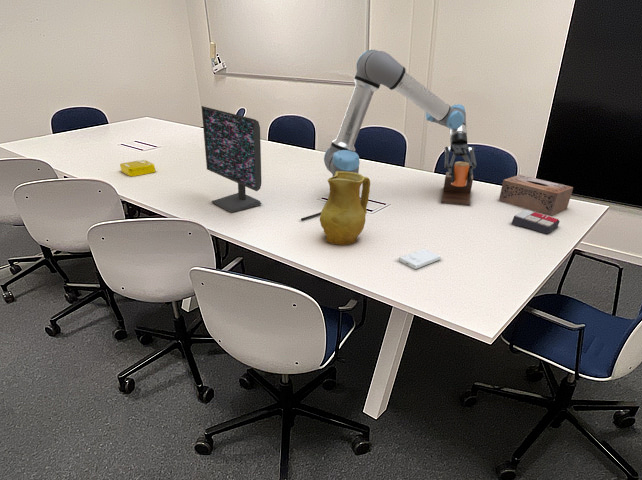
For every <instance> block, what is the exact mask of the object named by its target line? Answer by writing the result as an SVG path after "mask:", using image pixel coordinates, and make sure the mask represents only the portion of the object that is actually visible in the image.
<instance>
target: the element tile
mask: <svg viewBox="0 0 642 480" xmlns="http://www.w3.org/2000/svg"><path fill="white" fill-rule="evenodd" d="M119 167H120V170H121V173H123V174H125V175H127V176H129V177H137V176H143V175H148V174H153V173H155V172H156V167H155V163H152V162H150V161H148V160H146V159H139V160H134V161H129V162H122V163H120V164H119Z"/></svg>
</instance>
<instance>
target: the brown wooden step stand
mask: <svg viewBox="0 0 642 480" xmlns="http://www.w3.org/2000/svg"><path fill="white" fill-rule="evenodd" d="M443 182H444V183H443V188H442V189H443V191H442V196H441V202H440V203H441V204H447V205H455V206H456V205H457V206H467V207H470V206H471V193H472V187H473V182H474V173H473V174H472V176H471V182H470V183H468V177H467V183H466V186H463V187H458V186H453V185H451V175H449V171H446V172H445V177H444V181H443Z"/></svg>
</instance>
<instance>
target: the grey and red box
mask: <svg viewBox="0 0 642 480" xmlns="http://www.w3.org/2000/svg"><path fill="white" fill-rule="evenodd" d="M560 221H561V220H560V219H559V218H556V217H553V216H550V215H547V214H543V213H540V212H536V211H533V210H529V209H523V210H522V211H521V212H519V213H517V214H515V215H514V216H513V218H512V221H511V225H513V226H516V227H524V228H527V229H530V230H533V231H536V232H539V233H542V234H545V235H548V234H550V233H552V232H553V231H554V230H556V229H557V228H558V227H559V225H560Z"/></svg>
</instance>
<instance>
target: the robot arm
mask: <svg viewBox="0 0 642 480" xmlns="http://www.w3.org/2000/svg"><path fill="white" fill-rule="evenodd" d="M355 67H356V68H355V69H356V73H355V76H354V78H353V81H354V83H355V86H354V88H353V92H352V94H351V97H350V99H349V103H348V105H347V106H348V107H347V108H346V111H345V114H344V117H343V119H342V122H341V125H340V128H339V131H338V133H337V136H336V138H335V139H334V140H332V141H331V144H330V146H329V148H328V149H326V151H325V153H324V156H323V163H324V165H325V168H326V170H327V171H328V172H330V174H332V177H334V176H335V172H336V171H338V172H342V171H343V172H353V173H358V174H360V173H359V172H360V163H361V162H360V156H359V154H358V153H357V152H356V148H355V144H356V141H357V138H358V136H359V133H360V131H361V127H362V125H363V123H364V119H365V118H366V114H367V112H368V109H369V106H370V103H371V101H372V98H373V95H374V93H375V92H376V91H379V89H380V87H381V85H382V86H384V87H386V88H388V89H389V90H391V91H394V90H395V91H397V92H398V93H399V94H401V96H403V97H405V98H406V99H408V100H409V101H410V102H411V103H413V104H414V105H415V106H417V107H418V108H420V109H421V110H423V111H424V112H425V115H424V117H425V120H426V121H428V122H431V123H435V124H438V125H440V126H442V127H443V126H444V127H446V128H448V129H449V137H450V139H449V143H450V146H445V147H444V150H443V152H444V166H443V167H444V169H447V171H448V172H449V175H451V183H453V182H454V180H455V176H454V164H455V160H456V157H457V156H460V157H462V158H463V160H464V162H467V163H469V165H470V166H469V172H468V183H470V182H471V176H472V174H473V175H474V169H476V167H477V165H478V164H477V159H476V154H475V148H476V147H475V146H472V147H470V146H469V145H468V131H467V113H466V108H465V106H464V105H462V104H460V103H458V104H453V105H449V104H448V103H447V102H445V101H444V100H443V99H442V98H441V97H439V96H438V95H437V94H435V93H434V92H433V91H431V90H430V89H429V88H428V87H426V86H425V85H424V84H422V83H421V82H420V81H418V80H417V79H416V78H414V77H413V76H412V75H410V74H409V73H407V69H406V67H405V66H403V65H402V64H401V63H400V62H399V61H398V60H396V59H395V57H393V56H392V55H391V54H389V53H388V52H386V51H383V50H378V49H369V50H366V51H364V52H362V53H361V54H360V56H359V57H358V58H357V61H356V66H355ZM450 152H451V153H452V156H451V159H449V158H450ZM468 153H469V155H468ZM449 160H450V162H449ZM360 200H361V198H360ZM321 212H322V211H320V212H317V213H315V214H311V215H307V216H304V217H302V218H301V219H300V220H301V221H304V220H308V219H312V218H314V217H318V216H320V215H321Z"/></svg>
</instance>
